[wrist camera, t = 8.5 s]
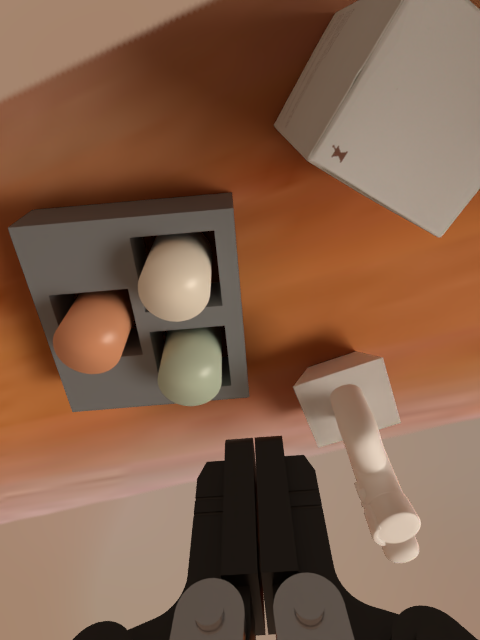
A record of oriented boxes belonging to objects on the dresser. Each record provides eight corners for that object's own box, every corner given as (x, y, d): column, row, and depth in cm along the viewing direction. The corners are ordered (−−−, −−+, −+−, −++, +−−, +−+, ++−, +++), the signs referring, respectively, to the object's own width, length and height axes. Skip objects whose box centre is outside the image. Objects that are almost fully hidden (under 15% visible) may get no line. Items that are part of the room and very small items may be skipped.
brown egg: (131, 275, 33) (113, 314, 27) (142, 326, 35) (128, 371, 30) (72, 280, 33) (44, 320, 27) (87, 330, 35) (63, 376, 30)
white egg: (208, 222, 31) (206, 253, 26) (215, 279, 33) (213, 318, 28) (146, 227, 31) (131, 259, 26) (157, 284, 33) (145, 324, 28)
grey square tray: (231, 192, 30) (233, 208, 27) (246, 367, 38) (249, 397, 34) (32, 209, 31) (7, 227, 27) (86, 380, 38) (72, 411, 34)
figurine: (365, 321, 36) (446, 464, 23) (389, 403, 40) (468, 561, 27) (282, 350, 37) (315, 501, 24) (314, 426, 42) (356, 588, 29)
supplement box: (360, 183, 30) (438, 246, 19) (270, 125, 28) (300, 160, 17) (432, 78, 27) (573, 83, 16) (337, 4, 25) (425, -45, 14)
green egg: (218, 309, 34) (218, 352, 29) (224, 355, 36) (224, 403, 31) (163, 314, 34) (152, 358, 29) (171, 360, 36) (163, 408, 31)
